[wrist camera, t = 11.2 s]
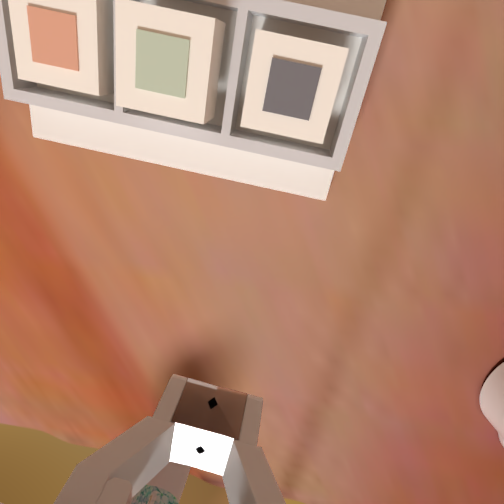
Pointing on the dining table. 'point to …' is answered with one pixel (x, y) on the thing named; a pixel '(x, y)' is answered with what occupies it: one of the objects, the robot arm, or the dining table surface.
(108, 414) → the dining table surface
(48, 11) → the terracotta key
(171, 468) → the bottle
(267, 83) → the charcoal key
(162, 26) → the sage key
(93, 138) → the keypad base
